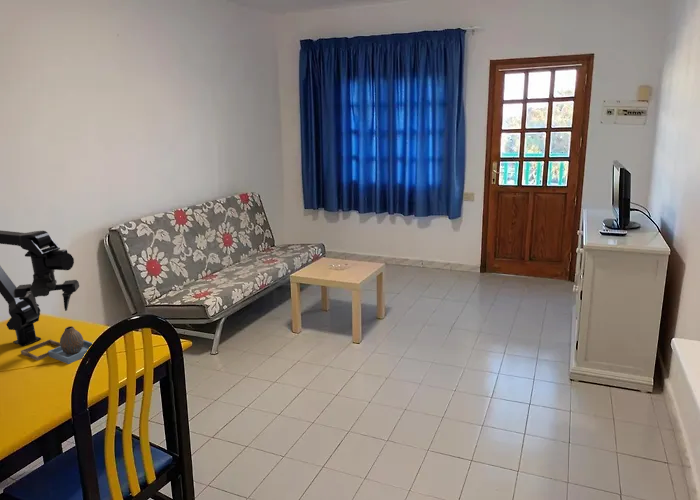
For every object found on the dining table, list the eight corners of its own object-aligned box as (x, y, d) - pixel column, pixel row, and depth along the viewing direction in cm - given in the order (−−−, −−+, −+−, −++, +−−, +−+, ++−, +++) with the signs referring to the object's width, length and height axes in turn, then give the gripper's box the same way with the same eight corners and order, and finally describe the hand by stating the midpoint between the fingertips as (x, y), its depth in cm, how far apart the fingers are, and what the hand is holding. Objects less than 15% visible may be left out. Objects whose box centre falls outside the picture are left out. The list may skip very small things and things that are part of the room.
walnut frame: (21, 354, 174) (20, 350, 174) (50, 342, 183) (50, 339, 182) (37, 360, 169) (37, 357, 169) (67, 348, 178) (66, 345, 177)
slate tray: (49, 356, 172) (48, 351, 172) (80, 343, 181) (79, 338, 181) (68, 364, 166) (67, 358, 166) (99, 350, 176) (98, 344, 175)
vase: (75, 357, 170) (71, 332, 167) (57, 355, 171) (52, 331, 169) (89, 347, 176) (85, 324, 174) (71, 346, 178) (67, 322, 175)
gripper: (2, 279, 164) (12, 324, 168) (67, 273, 168) (75, 317, 173) (15, 268, 175) (24, 312, 179) (75, 263, 179) (83, 305, 183)
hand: (51, 312), depth 178 cm, fingers open, 9 cm apart
